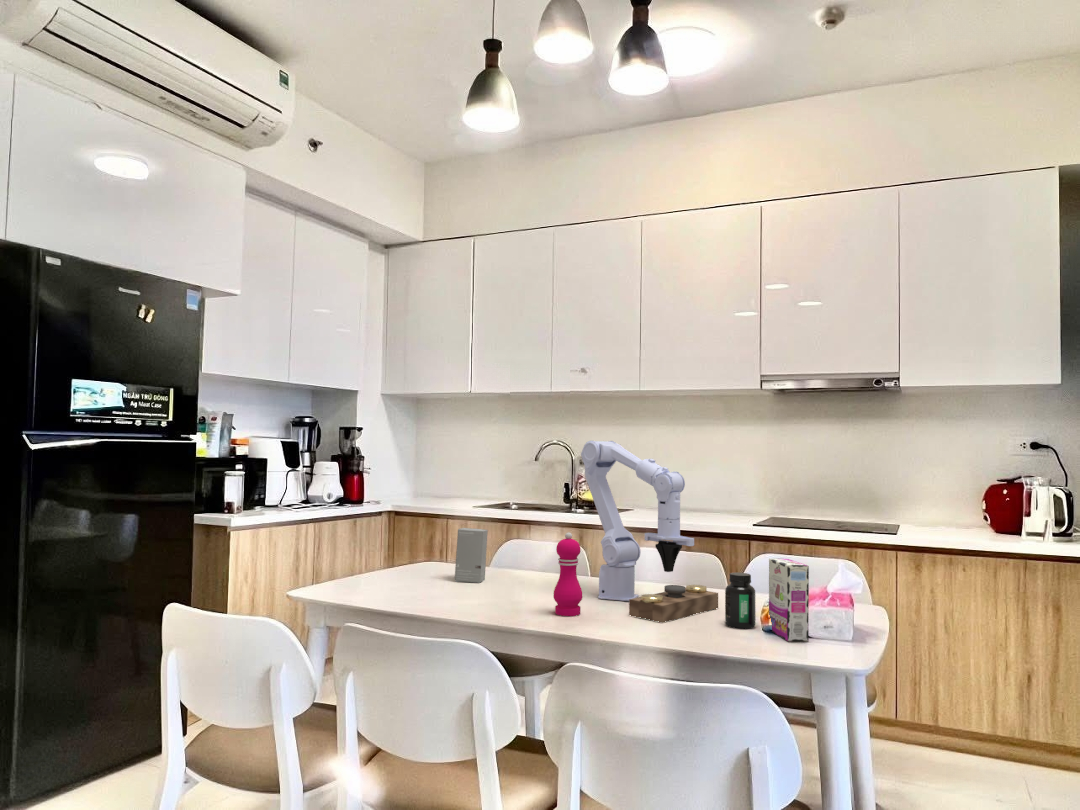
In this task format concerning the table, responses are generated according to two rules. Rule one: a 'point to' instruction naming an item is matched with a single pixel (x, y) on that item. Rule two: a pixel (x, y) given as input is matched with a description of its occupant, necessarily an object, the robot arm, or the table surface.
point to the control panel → (674, 606)
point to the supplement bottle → (740, 602)
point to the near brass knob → (651, 598)
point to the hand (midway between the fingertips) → (668, 571)
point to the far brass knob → (696, 589)
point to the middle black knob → (674, 590)
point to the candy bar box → (789, 599)
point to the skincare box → (471, 555)
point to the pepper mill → (568, 578)
